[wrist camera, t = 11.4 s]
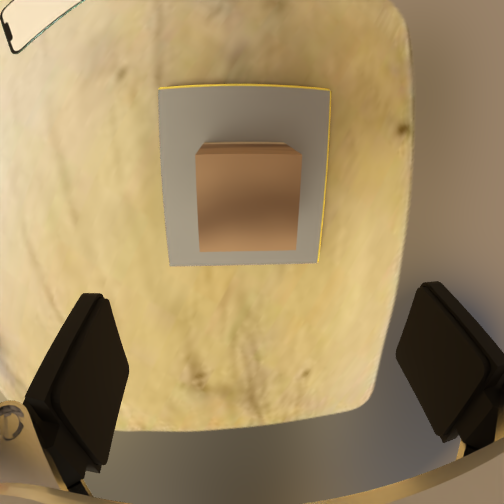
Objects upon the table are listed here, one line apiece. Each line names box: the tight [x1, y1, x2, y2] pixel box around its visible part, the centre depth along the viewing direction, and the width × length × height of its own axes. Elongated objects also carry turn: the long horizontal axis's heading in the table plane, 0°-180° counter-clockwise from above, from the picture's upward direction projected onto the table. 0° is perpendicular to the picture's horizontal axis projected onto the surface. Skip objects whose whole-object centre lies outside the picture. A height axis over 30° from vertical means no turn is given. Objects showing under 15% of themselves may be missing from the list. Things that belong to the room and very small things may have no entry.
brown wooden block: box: [195, 142, 302, 252], centre depth 23 cm, size 6×6×7 cm
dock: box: [158, 84, 331, 266], centre depth 28 cm, size 16×14×3 cm
